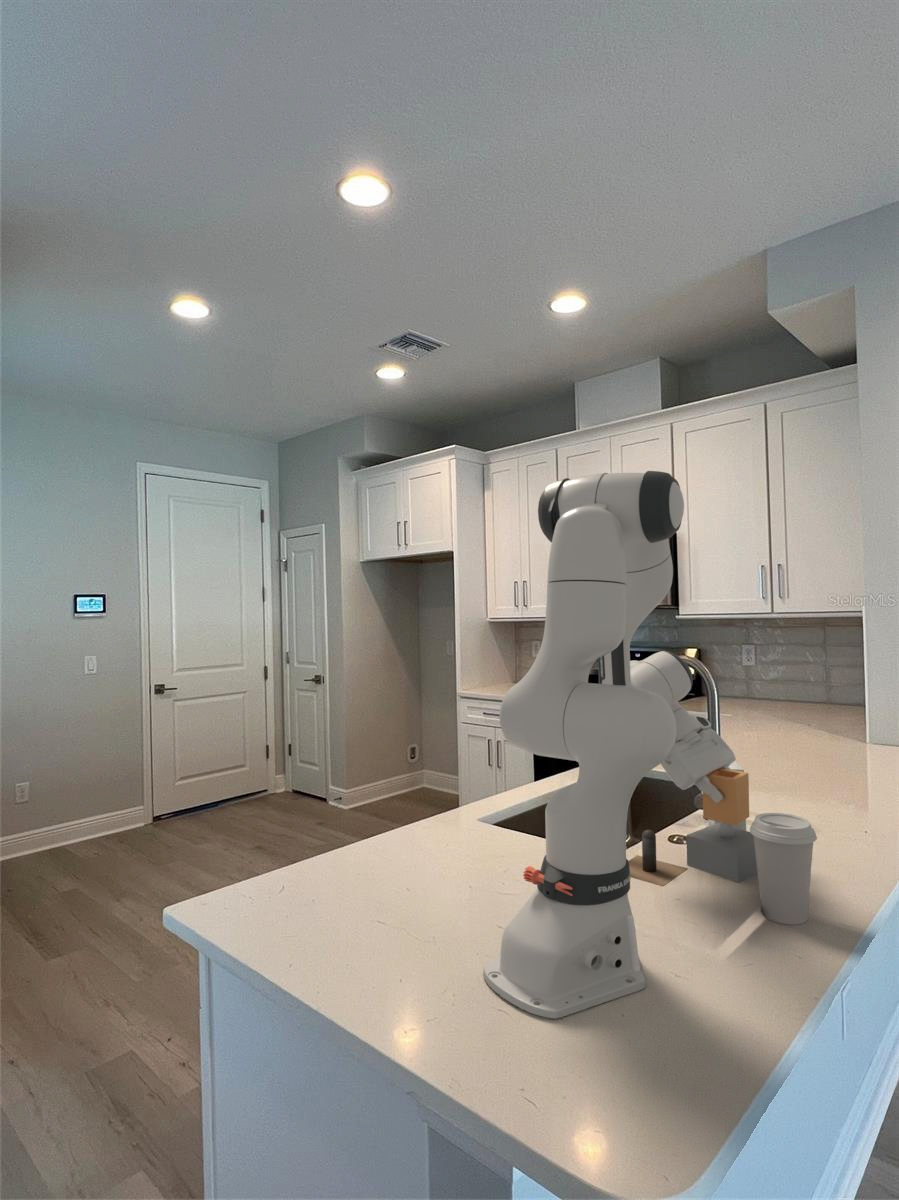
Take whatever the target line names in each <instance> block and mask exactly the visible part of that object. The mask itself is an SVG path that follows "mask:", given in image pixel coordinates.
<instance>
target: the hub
mask: <svg viewBox="0 0 899 1200" xmlns="http://www.w3.org/2000/svg"><path fill="white" fill-rule="evenodd" d="M686 866H688V867H691V868H694V869H696V870H699V871H703V872H706V873H709V874H711V875H714V876H718V877H721V878H724V879H726V880H730V881H733V882H735V883H740V882H742V881H745V880H746V879H749V878H750V877H753V876H755V875H756V874H757V875H758V872H757V863H756V854H755V846H754V837H753V834H751V832H750V831H747V830H746V831H744V830H740V829H736V828H734V825H733V824H728V823H723V822H720V824H718V823H717V824H714V825H712V826H709V827H708V826H707V827H704V828H701V829H699V830H696V831H693V832H690V833H688V834H686Z"/></svg>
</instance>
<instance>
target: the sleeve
mask: <svg viewBox="0 0 899 1200" xmlns="http://www.w3.org/2000/svg"><path fill="white" fill-rule="evenodd" d="M706 776H707V778H708V779H709V780H710V783H711V784H712V785H713V786H715V787H716V788H717V789H719V788H720V789H721V791H722V792H723V793H724V794H725V798H724V799H723V800H721V801H720V802H718V803H715V802H714V801H713V799H712V798H711V797H710V796H709V795H707V794H705V793H704V792H702V816H703V817H702V818H703V819H704V820H708V819H709V820H713V821H718V822H723V823H728V824H733V825H738V824H740V823H741V822H742V821H744V820H745V819H746V820H747V819H748V818H749V817H750V788H749V787H750V784H749V781H750V780H749V779H750V778H749V772H746V771H744V772H740V771H733V770H727V769H718V770H716V771H714V772H712V773H710V774H708V775H706Z"/></svg>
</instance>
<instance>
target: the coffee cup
mask: <svg viewBox="0 0 899 1200" xmlns="http://www.w3.org/2000/svg"><path fill="white" fill-rule="evenodd" d="M749 832H751V834H753V837H754V846H755V854H756V863H757V872H758V873H757V879H758V889H759V897H760V904H761V905H760V907H761V914H762V915H763V916H764V917H765V918H766V919H768V920H770V921H771V922H774V923H778V924H783V925H788V926H790V925H791V926H793V925H794V926H795V925H796V926H798V925H803V924H804V923H806V922H807V921H808V914H809V913H808V912H809V903H810V902H809V901H810V887H811V876H812V873H811V872H812V863H813V862H812V861H813V859H812V858H813V849H814V842H816V841H817V840H818V839H817V838H818V837H817V833H816V831H815V829H814V828H813V827H812V824H811V822H810V821H809V820H807V818H804V817H801V816H798V815H794V814H790V813H781V812H765V813H760V814H756V816H755V817H754V820H753V822H752V823H751V825H750V827H749Z"/></svg>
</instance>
